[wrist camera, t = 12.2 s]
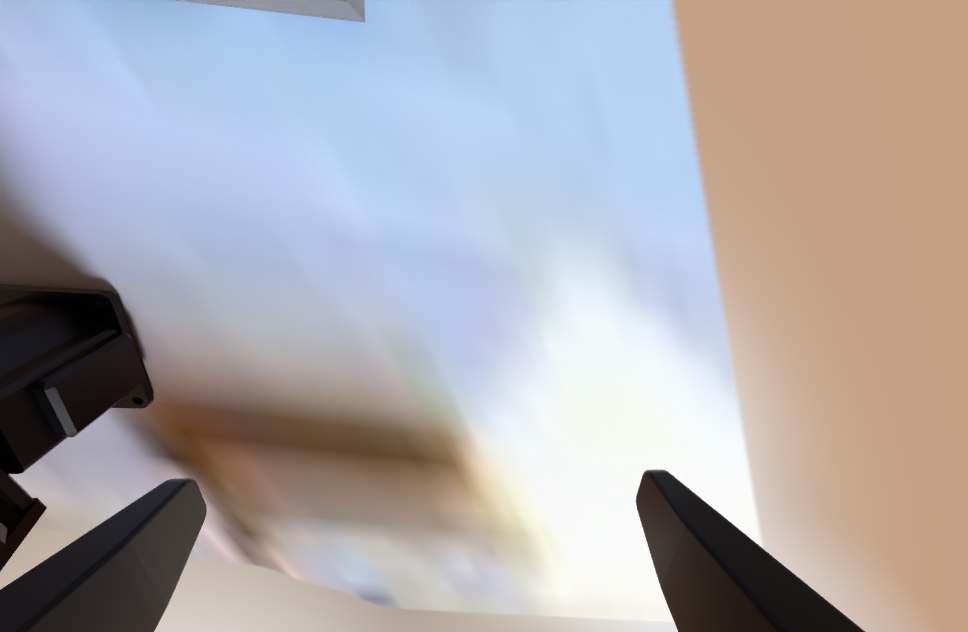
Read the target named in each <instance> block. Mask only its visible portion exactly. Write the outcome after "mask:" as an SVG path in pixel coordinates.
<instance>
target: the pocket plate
mask: <svg viewBox="0 0 968 632" xmlns="http://www.w3.org/2000/svg"><path fill="white" fill-rule="evenodd" d="M177 1H186V2H194V3H203V4H212V5H220V6H229V7H238V8H247V9H255V10H264V11H273V12H281V13H290V14H299V15H308V16H316V17H325V18H334V19H342V20H351V21H360V22H365V12H364V0H177Z"/></svg>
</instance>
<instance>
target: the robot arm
mask: <svg viewBox="0 0 968 632" xmlns="http://www.w3.org/2000/svg"><path fill="white" fill-rule="evenodd" d="M102 300H103V301H105V302H106V304H107V305H106V304H105V303H103V301H102ZM153 400H154V396H153V393H152V391H151V388H150V385H149V382H148V379H147V377H146V374H145V371H144V368H143V365H142V363H141V360H140V357H139V354H138V352H137V349H136V346H135V343H134V340H133V338H132V335H131V332H130V329H129V326H128V324H127V321H126V318H125V315H124V312H123V310H122V307H121V304H120V301H119V300H118V298H117V297H116V296H115V295H114V294H113V293H111V292H109V291H104V290H84V289H65V288H45V287H25V286H6V285H0V571H1V570H2V568H3V567H4V566H5V564H6V563H7V561H8V560H9V559H10V557H11V556H12V554H13V553H14V552H15V551H16V549H17V548H18V547H19V545H20V544H21V543H22V541H23V540H24V538H25V537H26V536H27V534H28V533H29V532H30V530H31V529H32V528H33V526H34V525H35V524H36V522H37V521H38V519H39V518H40V517H41V515H42V514H43V513H44V511H45V510H46V508H47V507H46V506H45V505H44V504H43V503H42V502H41V501H40V500H39V499H38V498H32V497H31V496H30V495H29V494H28V493H27V492H26V491H25V490H24V489H23V488H22V487H21V486H20V485H19V484H18V483H17V482H16V481H15V480H14V479H13V478H12V477H11V476H10V475H9V474H20V473H23V472H24V471H25V470H27V469H28V468H29V467H30V466H32V465H33V464H34V463H35V462H37V461H38V460H39V459H41V458H42V457H43V456H44V455H46V454H47V453H48V452H49V451H51V450H52V449H53V448H55V447H56V446H57V445H58V444H60V443H61V442H62V441H63V440H65V439H66V438H67V437H74V436H76V435H77V434H79V433H80V432H81V431H82V430H84V429H85V428H86V427H87V426H89V425H90V424H91V423H92V422H94V421H95V420H96V419H97V418H99V417H100V416H101V415H102V414H104V413H105V412H106V411H107V410H109V409H110V408H145V407H147V406H148V405H149V404H150V403H151V402H153ZM636 505H637V510H638V513H639V517H640V520H641V523H642V527H643V530H644V533H645V537H646V540H647V543H648V547H649V550H650V554H651V557H652V560H653V564H654V567H655V570H656V574H657V577H658V580H659V583H660V586H661V589H662V592H663V594H664V597H665V600H666V602H667V605H668V607H669V610H670V612H671V615H672V617H673V620H674V622H675V625H676V627H677V630H678V632H865V631H864V630H862V629H861V628H860V627H859V626H857V625H856V624H855V623H854V622H853V621H851V620H850V619H849V618H848V617H846V616H845V615H844V614H843V613H841V612H840V611H839V610H838V609H836V608H835V607H834V606H833V605H832V604H830V603H829V602H828V601H827V600H825V599H824V598H823V597H822V596H820V595H819V594H818V593H817V592H816V591H814V590H813V589H812V588H810V587H809V586H808V585H807V584H806V583H804V582H803V581H802V580H801V579H800V578H798V577H797V576H796V575H795V574H793V573H792V572H791V571H790V570H788V569H787V568H786V567H785V566H784V565H782V564H781V563H780V562H778V561H777V560H776V559H775V558H773V557H772V556H771V555H770V554H769V553H768V552H766V551H765V550H764V549H763V548H761V547H760V546H759V545H758V544H756V543H755V542H754V541H753V540H751V539H750V538H749V537H748V536H747V535H745V534H744V533H743V532H742V531H740V530H739V529H738V528H737V527H735V526H734V525H733V524H732V523H731V522H729V521H728V520H727V519H726V518H724V517H723V516H722V515H721V514H719V513H718V512H717V511H716V510H715V509H713V508H712V507H711V506H710V505H708V504H707V503H706V502H705V501H703V500H702V499H701V498H700V497H699V496H697V495H696V494H695V493H694V492H692V491H691V490H690V489H689V488H687V487H686V486H685V485H684V484H682V483H681V482H680V481H679V480H678V479H676V478H675V477H674V476H673V475H671V474H670V473H669V472H667V471H665V470H646V471H645V472H644V473H643V476H642V479H641V483H640V486H639V489H638V493H637V496H636ZM205 517H206V504H205V502H204V499H203V497H202V495H201V492H200V490H199V487H198V485H197V483H196V481H195V480H193V479H190V478H186V479H170V480H167V481H165V482H164V483H162V484H160V485H159V486H157V487H156V488H154V489H153V490H151V491H150V492H148V493H147V494H145V495H144V496H142V497H141V498H139V499H138V500H136V501H135V502H133V503H132V504H130V505H129V506H127V507H126V508H124V509H122V510H121V511H119V512H118V513H116V514H115V515H113V516H112V517H110V518H109V519H107V520H106V521H104V522H103V523H101V524H100V525H98V526H97V527H95V528H94V529H92V530H91V531H89V532H87V533H86V534H84V535H83V536H81V537H80V538H78V539H77V540H75V541H74V542H72V543H71V544H69V545H68V546H66V547H65V548H63V549H62V550H60V551H59V552H57V553H56V554H54V555H53V556H51V557H50V558H48V559H46V560H45V561H43V562H42V563H40V564H39V565H37V566H36V567H35V568H33V569H31V570H30V571H28V572H27V573H25V574H24V575H22V576H21V577H19V578H18V579H16V580H15V581H13V582H12V583H10V584H8V585H7V586H5V587H4V588H3V589H1V590H0V632H154V631H155V629H156V627H157V625H158V623H159V621H160V619H161V617H162V615H163V613H164V611H165V609H166V608H167V605H168V603H169V601H170V599H171V597H172V595H173V592H174V590H175V588H176V585H177V583H178V581H179V578H180V576H181V574H182V571H183V569H184V567H185V565H186V562H187V560H188V558H189V555H190V553H191V551H192V548H193V546H194V544H195V541H196V539H197V537H198V534H199V532H200V530H201V527H202V525H203V523H204V520H205Z"/></svg>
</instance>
